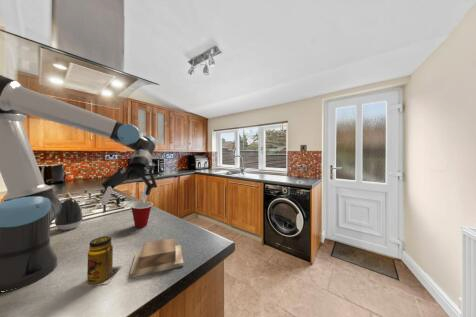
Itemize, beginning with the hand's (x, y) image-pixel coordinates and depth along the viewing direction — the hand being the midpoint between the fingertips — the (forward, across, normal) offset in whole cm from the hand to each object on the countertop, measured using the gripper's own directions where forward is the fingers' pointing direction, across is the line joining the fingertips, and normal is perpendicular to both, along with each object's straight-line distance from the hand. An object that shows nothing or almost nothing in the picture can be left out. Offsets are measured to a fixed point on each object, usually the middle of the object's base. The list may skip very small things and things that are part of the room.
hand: (123, 202), depth 64 cm
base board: (+18, -14, -11) cm, 25 cm away
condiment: (+22, 0, -7) cm, 23 cm away
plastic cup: (-6, +5, -35) cm, 36 cm away
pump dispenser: (-6, +40, -35) cm, 54 cm away
